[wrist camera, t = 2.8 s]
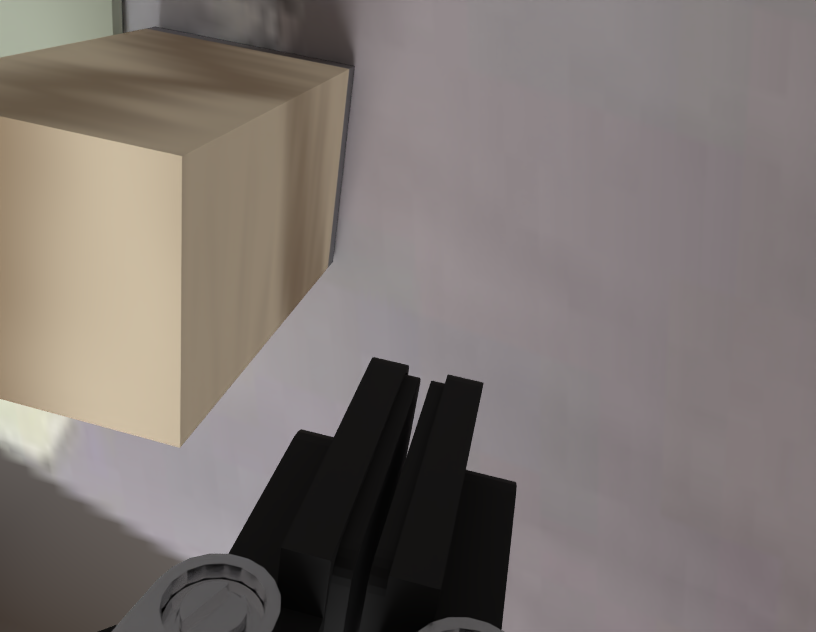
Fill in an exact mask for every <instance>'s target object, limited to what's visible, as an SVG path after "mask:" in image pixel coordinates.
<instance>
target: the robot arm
mask: <svg viewBox="0 0 816 632" xmlns="http://www.w3.org/2000/svg"><path fill="white" fill-rule="evenodd" d="M408 372H409V365H405V364H401V363H397V362H392V361H388V360H384V359H379V358H375V357H373V358H372V359H371V361H370V363H369V365H368V367H367V369H366V372H365V374H364V376H363V378H362V380H361V382H360V384H359V386H358V388H357V390H356V392H355V394H354V397H353V399H352V401H351V403H350V405H349V407H348V409H347V411H346V413H345V415H344V417H343V419H342V421H341V424H340V426H339V428H338V430H337V432H336V434H335V436H334V437H330V436H326V435H322V434H318V433H314V432H310V431H306V430H302V429H301V430H300V431H298V432H297V434H296V435H295V436H294V438H293V440H292V441H291V443H290V445H289V447H288V449H287V450H286V452H285V454H284V456H283V458H282V459H281V461H280V463H279V465H278V466H277V468H276V470H275V472H274V474H273V475H272V477H271V479H270V481H269V483H268V484H267V486H266V488H265V490H264V491H263V493H262V495H261V497H260V499H259V500H258V502H257V504H256V506H255V508H254V509H253V511H252V513H251V515H250V516H249V518H248V520H247V522H246V524H245V525H244V527H243V529H242V531H241V532H240V534H239V536H238V538H237V540H236V541H235V543H234V545H233V547H232V549H231V550H230V552H229V554H207V555H202V556H198V557H193V558H190V559H187V560H185V561H183V562H181V563H179V564H177V565H175V566H173V567H172V568H170V569H169V570H168V571H167V572H166V573H164V574H163V575H162V576H161V577H160V578H159V579H158V580H157V581H156V582H155V583H154V584H153V585H152V586H151V588H150V589H149V590H148V591H147V592H146V593H145V594H144V595H143V597H142V598H141V599H140V600H139V601H138V602H137V603H136V604H135V606H134V607H133V608H132V609H131V610H130V611H129V612H128V613H127V615H126V616H125V617H124V618H123V619H122V620H121V622H120V623H119V624H118V625H115V626H112V627H109V628H107V629H104V630H101V631H99V632H504V631H502V630H501V629H502V620H503V611H504V601H505V592H506V582H507V573H508V564H509V554H510V545H511V536H512V526H513V517H514V508H515V498H516V487H517V485H516V482H513V481H509V480H505V479H501V478H497V477H493V476H489V475H485V474H480V473H476V472H472V471H468V470H466V466H467V461H468V456H469V451H470V446H471V442H472V437H473V432H474V427H475V422H476V417H477V412H478V407H479V403H480V398H481V393H482V388H483V383H482V382H478V381H474V380H469V379H465V378H461V377H457V376H452V375H447V379H446V382H445V384H444V383H440V382H435V381H431V383H430V386H429V389H428V393H427V396H426V399H425V402H424V405H423V408H422V411H421V414H420V417H419V420H418V423H417V427H416V430H415V433H414V436H413V439H412V442H411V445H410V448H409V451H408V445H409V440H410V435H411V429H412V424H413V419H414V413H415V408H416V402H417V397H418V392H419V386H420V378H418V377H414V376H410V375H408ZM407 451H408V454H407ZM406 456H407V457H406Z"/></svg>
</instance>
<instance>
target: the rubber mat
mask: <svg viewBox="0 0 816 632" xmlns="http://www.w3.org/2000/svg"><path fill="white" fill-rule="evenodd" d="M121 33H123V30H122V0H0V57H5V56H10V55H15V54H20V53H25V52H30V51H35V50H40V49H45V48H51V47H56V46H61V45H66V44H71V43H76V42H81V41H86V40H91V39H96V38H101V37H106V36H111V35H116V34H121Z"/></svg>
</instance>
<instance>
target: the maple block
mask: <svg viewBox="0 0 816 632" xmlns="http://www.w3.org/2000/svg"><path fill="white" fill-rule="evenodd" d="M353 75H354V66H351V65H346V64H341V63H336V62H331V61H326V60H321V59H315V58H310V57H305V56H300V55H295V54H290V53H285V52H280V51H275V50H270V49H265V48H260V47H255V46H250V45H245V44H240V43H234V42H229V41H224V40H219V39H214V38H209V37H204V36H199V35H194V34H189V33H184V32H179V31H174V30H169V29H164V28H159V27H152V28H147V29H142V30H137V31H132V32H126V33H121V34H116V35H111V36H106V37H101V38H96V39H91V40H86V41H81V42H76V43H71V44H66V45H61V46H56V47H51V48H45V49H40V50H35V51H30V52H25V53H20V54H15V55H10V56H5V57H0V399H3V400H7V401H10V402H14V403H18V404H21V405H25V406H29V407H33V408H36V409H40V410H44V411H47V412H51V413H55V414H58V415H62V416H66V417H69V418H73V419H77V420H80V421H84V422H88V423H91V424H95V425H99V426H102V427H106V428H110V429H113V430H117V431H121V432H124V433H128V434H132V435H135V436H139V437H143V438H146V439H150V440H154V441H157V442H161V443H165V444H168V445H172V446H176V447H179V448H180V447H181V446H182V445H183V444H184V442H185V441H186V440H187V439H188V437H189V436H190V435H191V434H192V433H193V431H194V430H195V429H196V428H197V426H198V425H199V424H200V423H201V422H202V420H203V419H204V418H205V417H206V416H207V414H208V413H209V412H210V411H211V409H212V408H213V407H214V406H215V405H216V403H217V402H218V401H219V400H220V398H221V397H222V396H223V395H224V394H225V392H226V391H227V390H228V389H229V388H230V386H231V385H232V384H233V383H234V381H235V380H236V379H237V378H238V377H239V375H240V374H241V373H242V372H243V370H244V369H245V368H246V367H247V366H248V364H249V363H250V362H251V361H252V359H253V358H254V357H255V356H256V355H257V353H258V352H259V351H260V350H261V349H262V347H263V346H264V345H265V344H266V342H267V341H268V340H269V339H270V338H271V336H272V335H273V334H274V333H275V331H276V330H277V329H278V328H279V327H280V325H281V324H282V323H283V322H284V320H285V319H286V318H287V317H288V316H289V314H290V313H291V312H292V311H293V310H294V308H295V307H296V306H297V305H298V303H299V302H300V301H301V300H302V299H303V297H304V296H305V295H306V294H307V292H308V291H309V290H310V289H311V288H312V286H313V285H314V284H315V283H316V282H317V280H318V279H319V278H320V277H321V275H322V274H323V273H324V272H325V271H326V269H327V268H328V267H329V266H330V264H331V263H332V262H333V256H334V247H335V238H336V229H337V220H338V211H339V202H340V193H341V183H342V174H343V165H344V156H345V147H346V138H347V129H348V120H349V111H350V102H351V93H352V84H353Z"/></svg>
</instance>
